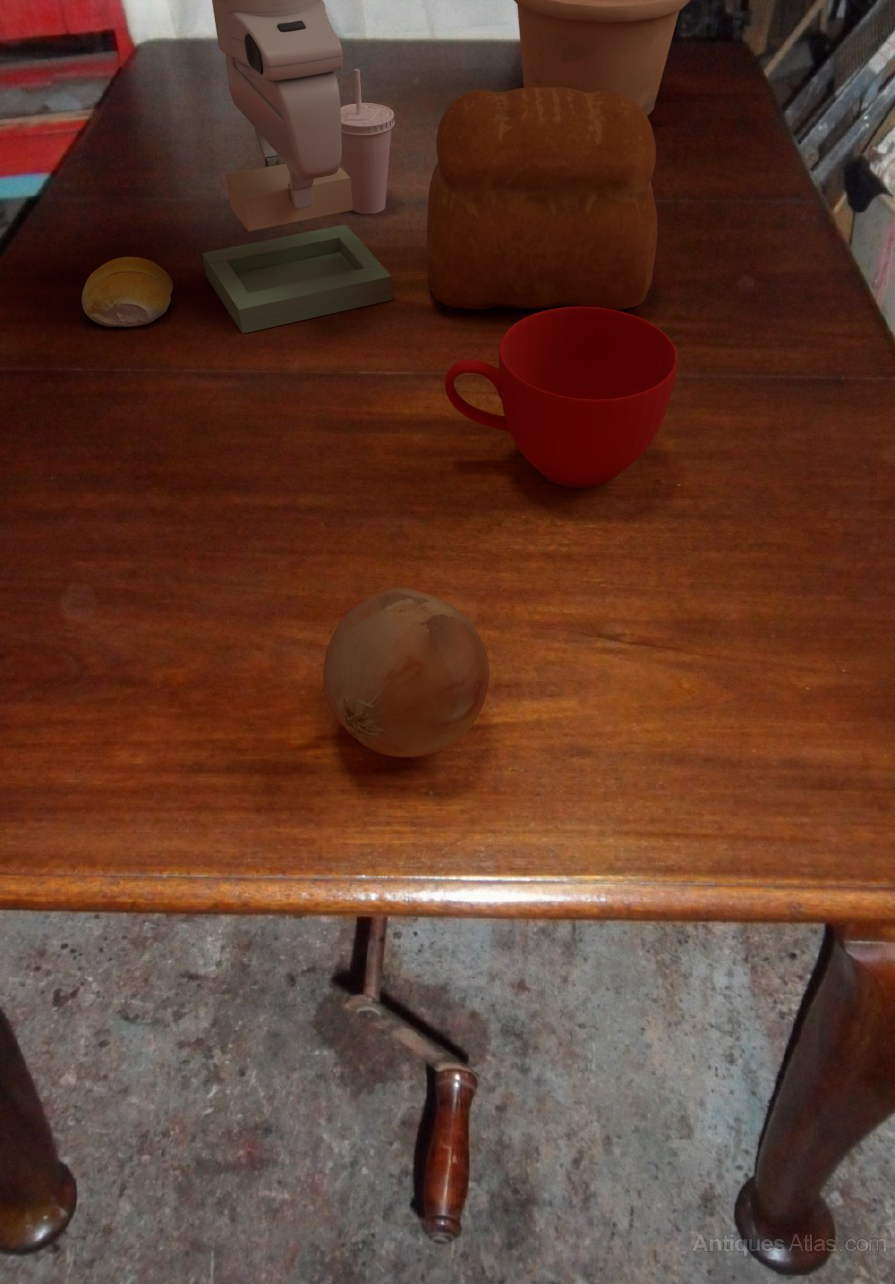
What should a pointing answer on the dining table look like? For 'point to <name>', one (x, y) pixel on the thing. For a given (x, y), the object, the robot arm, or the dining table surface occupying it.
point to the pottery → (597, 45)
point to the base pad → (296, 278)
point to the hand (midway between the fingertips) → (289, 190)
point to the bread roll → (127, 293)
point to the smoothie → (366, 151)
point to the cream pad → (284, 197)
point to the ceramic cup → (577, 391)
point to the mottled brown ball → (406, 673)
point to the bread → (542, 201)
